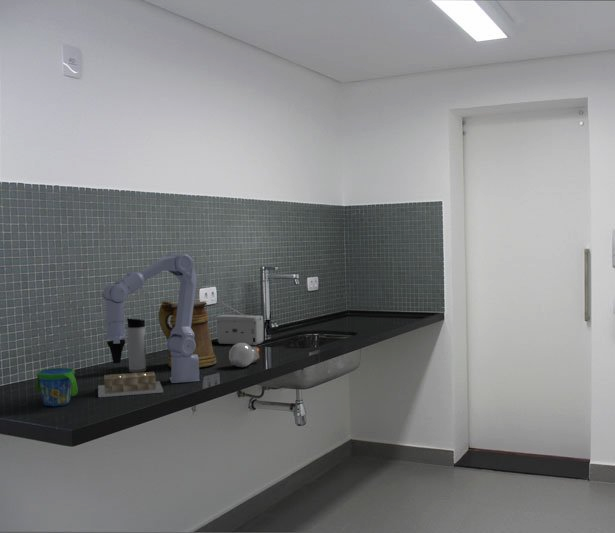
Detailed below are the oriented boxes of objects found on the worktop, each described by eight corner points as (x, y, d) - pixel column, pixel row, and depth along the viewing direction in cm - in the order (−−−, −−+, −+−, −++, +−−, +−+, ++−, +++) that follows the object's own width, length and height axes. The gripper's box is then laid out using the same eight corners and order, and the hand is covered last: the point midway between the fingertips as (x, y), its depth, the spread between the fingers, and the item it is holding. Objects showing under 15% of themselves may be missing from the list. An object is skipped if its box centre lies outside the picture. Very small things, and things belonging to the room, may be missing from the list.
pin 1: (121, 385, 236) (121, 374, 236) (121, 387, 233) (121, 376, 233) (112, 386, 235) (112, 375, 235) (113, 388, 232) (112, 376, 232)
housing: (154, 383, 241) (153, 371, 241) (155, 387, 234) (155, 375, 234) (104, 387, 236) (104, 375, 236) (104, 391, 230) (104, 379, 229)
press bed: (159, 384, 245) (159, 381, 245) (163, 392, 231) (163, 389, 231) (98, 388, 239) (98, 385, 239) (98, 397, 226) (98, 394, 226)
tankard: (204, 370, 268) (203, 303, 267) (148, 368, 275) (146, 303, 273) (223, 362, 285) (222, 299, 284) (169, 360, 292) (168, 298, 291)
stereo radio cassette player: (264, 343, 333) (263, 300, 332) (256, 346, 325) (255, 302, 324) (224, 341, 340) (223, 299, 339) (215, 344, 332) (214, 301, 332)
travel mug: (124, 371, 269) (123, 318, 268) (139, 368, 273) (138, 316, 273) (134, 373, 264) (132, 319, 264) (149, 370, 269) (148, 317, 268)
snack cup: (88, 403, 217) (87, 370, 217) (58, 411, 209) (56, 376, 208) (56, 397, 226) (55, 365, 226) (26, 404, 218) (25, 371, 217)
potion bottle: (231, 373, 269) (250, 370, 283) (250, 358, 266) (269, 357, 280) (219, 352, 272) (239, 350, 286) (238, 337, 269) (257, 337, 283)
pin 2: (146, 383, 238) (146, 373, 238) (147, 385, 235) (146, 374, 235) (137, 384, 237) (137, 373, 237) (138, 386, 235) (138, 375, 234)
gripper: (102, 319, 239) (103, 359, 240) (102, 324, 225) (104, 367, 226) (124, 318, 241) (125, 358, 242) (126, 323, 227) (127, 365, 228)
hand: (116, 362), depth 234 cm, fingers closed
